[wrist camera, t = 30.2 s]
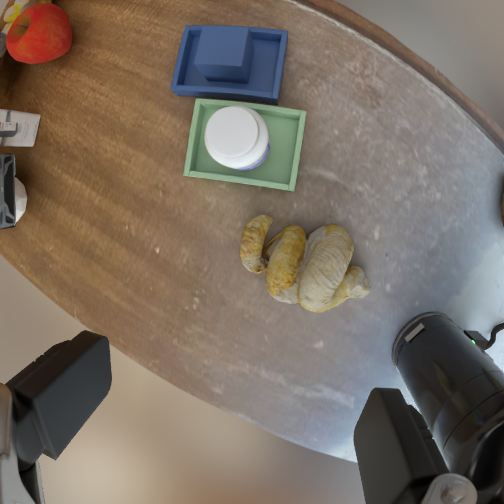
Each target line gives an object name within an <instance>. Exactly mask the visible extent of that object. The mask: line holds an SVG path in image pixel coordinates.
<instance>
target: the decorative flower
mask: <svg viewBox="0 0 504 504" xmlns="http://www.w3.org/2000/svg"><path fill="white" fill-rule="evenodd" d="M39 3H52V0H16V1H15V3H14V5H13V6H11V7H10V8H9V9H8V10H7V11H6V13H5V15H4V21H5V22H7V24H6V25H5V27H4V28H3V30H2V32H3V33H5V34H6V35H7V34H8V31H9V29H10V27H11V25H12V23H13V22H14V21H15V19H16V18H17V17H18V16H19V15H20V14H21V13H22V12H23V11H24V10H26V9H27V8H28V7H30V6H32V5H35V4H39Z"/></svg>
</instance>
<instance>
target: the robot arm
mask: <svg viewBox="0 0 504 504" xmlns="http://www.w3.org/2000/svg"><path fill="white" fill-rule="evenodd" d="M502 329H504V323H503V324H500V325H498V326H496V327H495V328H494V329H493V330H492V332H491V338H490V340H489V341H488V340H486V339H485V338H484V337H483V336H482V335H481V334H480V333H479V332H477V331H467V330H464V331H463V330H462V329H460V328H459V327H457V326H456V325H455V324H454V323H453V322H452V320H451V319H449V318H448V317H447V316H446V315H444V314H441V313H437V312H431V313H426V314H423V315H420V316H418V317H416V318H414V319H413V320H412V321H410V322H409V323H408V324H407V325H406V326H405V327H404V328H403V329H402V330H401V332H400V333H399V335H398V336H397V338H396V340H395V343H394V346H393V351H392V358H393V363H394V365H395V367H396V369H397V370H398V372H399V373H400V374H401V376H402V378H403V380H404V382H405V384H406V386H407V388H408V389H409V391H410V393H411V395H412V397H413V399H414V401H415V403H416V405H417V407H418V409H419V410H420V412H421V414H422V415H421V414H420V413H419V412H418V411H417V410H416V409H415V408H414V407H413V406H412V405H407V403H406V401H405V399H404V397H403V395H402V393H401V391H400V390H399V389H395V388H374V389H373V390H372V391H371V393H370V395H369V397H368V400H367V402H366V404H365V407H364V409H363V411H362V413H361V415H360V418H359V420H358V422H357V424H356V427H355V431H354V446H355V451H356V456H357V461H358V465H359V470H360V475H361V480H362V485H363V490H364V496H365V501H366V504H504V372H503V371H502V370H501V369H500V368H499V367H498V366H497V365H496V364H495V363H494V361H493V359H492V358H491V357H490V356H489V355H488V354H487V353H486V352H485V351H484V350H486V349H488V348H490V347H491V346H492V345H493V344H494V342H495V340H496V333H498V332H499V331H500V330H502ZM111 381H112V373H111V362H110V349H109V340H108V338H107V337H105V336H102V335H99V334H96V333H93V332H90V331H87V330H84V331H82V332H81V333H79V334H78V335H77V336H76V337H74V338H73V339H72V340H71V341H70V340H67V341H64V342H62V343H59V344H56V345H54V346H52V347H51V348H50V349H49V350H47V351H46V352H45V353H44V355H41V356H40V357H38V358H37V359H36V361H35V362H34V361H33V362H32V363H31V364H29V365H28V366H27V367H26V368H24V369H23V370H22V371H21V372H19V373H18V374H17V375H16V376H14V377H13V378H12V379H11V380H9V381H8V382H7V383H6V384H2V383H0V504H45V500H44V494H43V487H42V480H41V473H40V465H39V461H38V458H39V456H40V455H41V454H42V453H43V454H45V455H47V456H49V457H50V458H52V459H54V460H56V459H57V458H58V457H59V455H60V454H61V453H62V452H63V450H64V449H65V448H66V446H67V445H68V444H69V443H70V441H71V440H72V439H73V437H74V436H75V435H76V433H77V432H78V431H79V430H80V428H81V427H82V426H83V424H84V423H85V422H86V421H87V419H88V418H89V417H90V416H91V414H92V413H93V412H94V411H95V409H96V408H97V407H98V406H99V404H100V403H101V402H102V401H103V399H104V398H105V397H106V396H107V394H108V392H109V390H110V386H111ZM428 428H429V429H428ZM432 437H433V438H434V439H432Z"/></svg>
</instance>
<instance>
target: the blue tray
mask: <svg viewBox="0 0 504 504" xmlns="http://www.w3.org/2000/svg"><path fill="white" fill-rule="evenodd" d="M202 27H203V25H191V26H190V25H188V26H185V29H184V33H183V37H182V41H181V45H180V49H179V53H178V57H177V62H176V66H175V70H174V75H173V80H172V84H171V89H170V90H171V91H172V92H174V93H175V94H176V95H178V96H196V97H212V98H224V99H235V100H245V101H254V102H262V103H270V104H277V105H278V101H279V94H280V88H281V81H282V75H283V68H284V62H285V55H286V49H287V42H288V31H284V30H276V29H267V28H255V27H249V29H250V33H251V37H252V42H253V46H254V53H253V59H252V64H251V70H250V76H249V81H248V84H242V83H231V82H217V81H207V80H206V78H205V77H204V76H203V75H202V73H201V72H200V71H199V70H198V68H197V67H196V66H195V64H194V62H195V57H196V53H197V48H198V44H199V40H200V35H201V31H202Z"/></svg>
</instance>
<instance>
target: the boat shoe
mask: <svg viewBox="0 0 504 504" xmlns="http://www.w3.org/2000/svg"><path fill="white" fill-rule="evenodd" d="M6 37H7V35H6V34H5V33H3V32H0V71H1V68H2V63H3V55H4V53H5V51H6V48H7V47H6Z"/></svg>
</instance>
